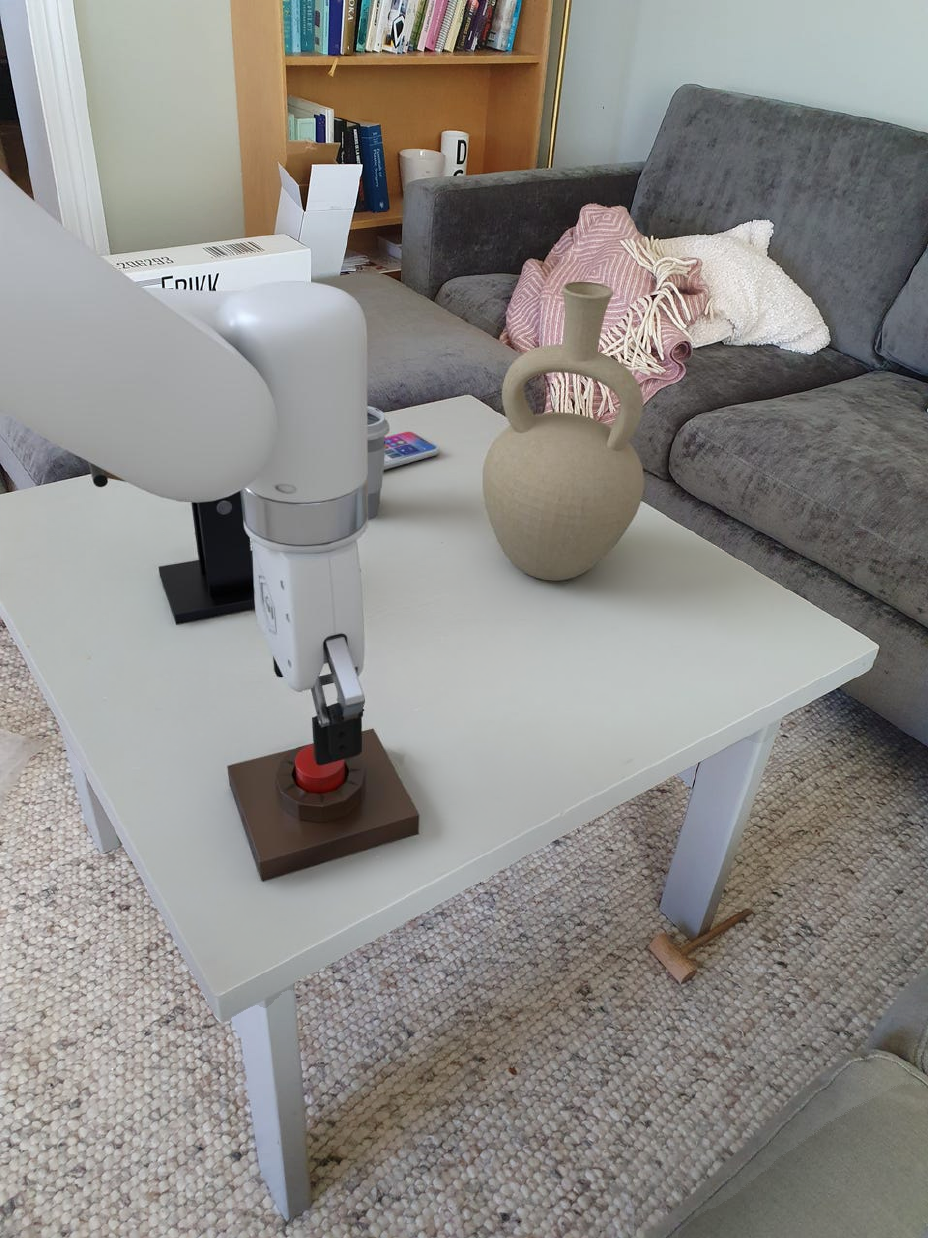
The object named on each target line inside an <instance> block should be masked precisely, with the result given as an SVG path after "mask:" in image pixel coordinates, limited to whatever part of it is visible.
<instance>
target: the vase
mask: <svg viewBox="0 0 928 1238" xmlns="http://www.w3.org/2000/svg"><path fill="white" fill-rule="evenodd" d="M561 292H562V298H563V308H564V309H563V311H564V313H563V314H564V316H563V317H564V318H563V334H562V335H563V336H562V344H549V345H541V346H538V347H535V348H532V349H529V350H527V351H526V352H525V353H523V354H522V355H520V356H519V357H517V358H516V359H515V360H514V361H513V363H511V365H510V366H509V367H508V369H507V372H506V374H505V376H504V378H503V379H504V380H503V382H502V388H501V389H502V391H501V401H502V407H503V411H504V414H505V417H506V419H507V421H508V424H509V426H507V427H506V428H505V429H504V430H502V431H501V432H500V433H499V434H498V435H497V437H495V439H494V440H493V442H492V443H491V445H490V446H489V449H488V450H487V453H486V456H485V459H484V462H483V467H482V492H483V500H484V505H485V509H486V513H487V516H488V520H489V523H490V526H491V529H492V531H493V533H494V536H495V538H496V541H497V543H498V545H499V546H500V548H501V550H502V552H503V553H504V555H505V556H506V557H507V559H508V560H509V561H510V563H511V564H512V565H513V566H514V567H515V568H517V569H518V570H520V571H521V572H522V573H524V574H526V575H528V576H531V577H534V578H536V579H540V580H546V581H551V582H552V581H565V580H569V579H574V578H576V577H578V576H581V575H582V574H584V573H586V572H588V571H590V569H592V568H593V567H594V566H595V565H597V564H598V563H599V562H601V560H602V559H603V558H605V556H606V555H608V553H609V552H610V551H611V550H612V549H613V548H614V547H615V546H616V544H617V543H618V542H619V541H620V540H621V539H622V537H623V535H624V534H625V533H626V532H627V530H628V528H629V527H630V526H631V524H632V523H633V522H634V521H633V520H634V519H635V517H636V515H637V513H638V512H639V511H638V510H639V508H640V506H641V502H642V499H643V496H644V491H645V475H644V469H643V465H642V463H641V460H640V456H639V455H638V453H637V451H636V450H635V448H634V447H633V446H632V444H631V443H630V442H629V441H630V440H631V439H632V437H633V436H634V435H635V432H636V430H637V428H638V426H639V424H640V421H641V419H642V416H643V413H644V395H643V391H642V388H641V386H640V384H639V382H638V379H637V378H636V377H635V376H634V374H633V373H632V372H631V371H630V370H629V369H628V367H626V366H625V365H624V364H623V363H621V362H620V361H618V360H617V359H615V358H613V357H611V356H609V355H607V354H606V353H604V352H600V351H599V347H600V339H601V333H602V329H603V324H604V320H605V315H606V314H607V313H606V312H607V310H608V306H609V304H610V300H611V298H612V296H613V295H614V290H613V289H612V288H611V287H609V286H608V285H606V284H602V283H598V282H593V281H592V282H591V281H581V280H579V281H570V282H569V281H568V282H567V283H564V284H563V285H562V286H561ZM552 373H565V374H571V375H578V376H583V377H586V378H589V379H591V380H594V381H596V382H597V383H601V385H603V386H605V387H607V388H608V389H609V390H610V391H612V393H613V394H614V395H615V397H616V399H617V400H618V402H619V407H618V411H617V413H616V415H615V417H614V420H613V422H612V425H611V426H610V425H608V424H607V423H605V422H602V421H600V420H597V419H595V418H594V417H590V416H586V415H583V414H578V413H574V412H561V411H553V412H549V411H547V412H544V413H538V414H535V413H534V412H533V411H532V409H531V407H530V406H529V403H528V401H527V396H526V392H525V387H526V383H527V382H528V381H530V380H531V379H533V378H534V377H537V376H539V375H544V374H545V375H546V374H552Z"/></svg>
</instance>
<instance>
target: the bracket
mask: <svg viewBox="0 0 928 1238" xmlns="http://www.w3.org/2000/svg"><path fill="white" fill-rule="evenodd" d="M190 505H191V511H192V519H193V528H194V535H195V542H196V550H197V556H198V558H197V559H195V560H190V561H189V560H188V561H183V562H177V563H172V564H165V565H160V566H158V572H159V578H160V581H161V584H162V586H163V590H164V593H165V596H166V599H167V601H168V605H169V608H170V611H171V614H172V617H173V620H174V623H175V625H181V624H187V623H191V622H196V621H203V620H207V619H212V618H213V619H214V618H217V617H221V616H227V615H234V614H238V613H242V612H248V611H253V610H255V597H254V575H253V551H252V549H251V548H252V547H251V538H250V537H249V536H248V535H247V533H246V531H245V529H244V522H243V513H242V503H241V493H240V491H239V492H237V493H235V494H233V495H231V496H229V497H226V498H222V499H218V500H215V501H209V502H199V503H195V502H190Z"/></svg>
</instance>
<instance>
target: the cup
mask: <svg viewBox="0 0 928 1238" xmlns="http://www.w3.org/2000/svg"><path fill="white" fill-rule="evenodd" d="M389 432H390V424H389V422H388V420H387V419H386V414H385V413H384V412H383V411H382V410H380V409H379V408H378V407H375V406H374V407H373V406H370V405H367V447H368V520H370V519H373V518H375V517H376V516H378V514H379V512H380V503H381V502H380V501H381V491H382V487H383V482H384V481H383V479H384V470H383V469H384V456H385V444H386V442H385V437H386V436H387V435H388V434H389Z"/></svg>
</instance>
